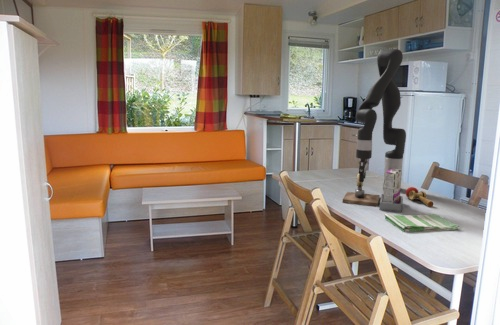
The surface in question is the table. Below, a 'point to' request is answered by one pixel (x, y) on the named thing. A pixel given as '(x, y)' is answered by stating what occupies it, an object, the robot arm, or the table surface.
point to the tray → (391, 205)
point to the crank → (359, 188)
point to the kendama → (418, 196)
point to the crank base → (361, 199)
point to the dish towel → (420, 222)
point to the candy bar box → (392, 186)
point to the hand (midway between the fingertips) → (362, 180)
